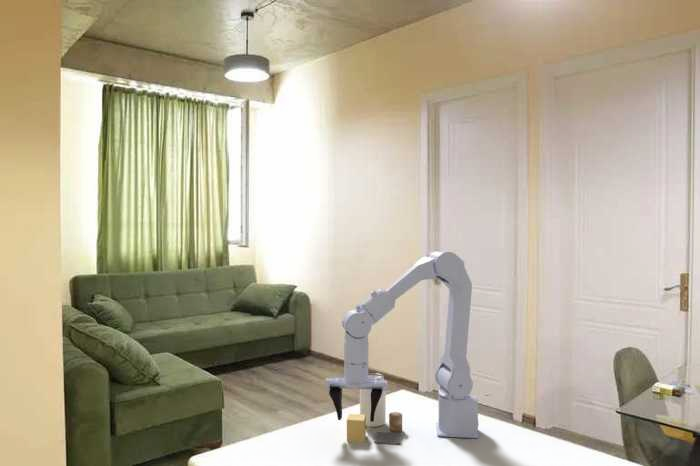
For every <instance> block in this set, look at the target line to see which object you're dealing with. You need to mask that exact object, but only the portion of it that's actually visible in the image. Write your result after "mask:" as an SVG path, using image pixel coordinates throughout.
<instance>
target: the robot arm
mask: <svg viewBox="0 0 700 466" xmlns="http://www.w3.org/2000/svg"><path fill="white" fill-rule="evenodd" d="M435 279H439V280H440V281H441V283H443V284H444V285H445V287H447V288H448V291H449V294H448V304H447V305H448V307H447V318H446V327H445V329H446V331H445V341H444V342H445V344H444V352H443V355H441V358H440V361H439V366H438V367H437V369H436V372H435V375H434V376H435V381H436V384H438V386H439V388H438V389H439V390H438V421H437V422H436V435H437V436H438V437H447V438H449V437H450V438H467V439H478V438H479V407H478V406H479V404H478V397H477V396H476V395H471V392H472V390H473V388H474V387H473V379H472V377H471V367H470V366H471V365H470V363H469V361H468V359H467V353H468V341H469V340H468V338H469V327H470V315H471V304H472V289H473V284H472V281H471V278H470V276H469V273H468V271H467V270H466V267H465V261H464V260H463V259H461V257H459V255H457V254H456V253H454V252H453V251H443V250H432V251H430V252H428V253H427V254H426V256H423V257H421V258H420V259H419V260H417V262H415V263H414V265H412V266H411V267H410V268H409V269H408V270H407V271H405V272H404V273H403V274H401V276H400V277H399V278H397V280H395V282H394V283H392V284H391V285H390V286H389V287H388V288H387V289H385V288H379V289H377V290H374V289H373V290H372V291H370V293H369V295H370V296H369V297H367V298H366V299H365V300H363V301H362V302H361V303H360V304H356V305H355V306H354V308H355V309H353V310H349V311H347V312H346V313H345V315H343V316H344V317H343V318H342V321H341V325H342V327H343V329H344V330H345V331H344V345H343V355H344V356H343V364H344V365H343V377H326V379H325V381H324V388H325V389H326V390H327V389H329V391H328V394H329V396H330V398H331V400H332V403H333V405H334V408H335V411H336V415H337V420H338V421H341V420H342V418H343V403H342V401H343V399H342V397H343V389H353V390H360V389H370V390H372V391H371V415H370V422H373V421H374V414H375V410H376V407H377V404H378V402H379V399H380V397H381V395H382V391H385V392H387V391H388V380H385V379H384V380H385V381H384V380H376V379H369V378H368V373H369V342H368V341H369V334H370V332H371V330H372V326H375V324H376V323H378V322H379V321H380V320H382V319H383V318H384V317H385V316H386V315H387V314H388V313H390V312H392V310H393V309H395V307H396V301H397V300H398V299H399V298H400V297H402V296H403V295H404V294H405V293H407V292H408V291H409V290H410V289H412V288H413V287H414V286H416V285H417V284H419V283H420V282H422V281H425V280H435Z"/></svg>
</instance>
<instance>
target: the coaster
mask: <svg viewBox="0 0 700 466" xmlns="http://www.w3.org/2000/svg"><path fill="white" fill-rule="evenodd" d="M401 442H402V432H401V433H395V432H390V431H376V433H375V438H374V444H385V445H401V444H402V443H401Z"/></svg>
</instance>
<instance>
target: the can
mask: <svg viewBox="0 0 700 466" xmlns="http://www.w3.org/2000/svg"><path fill="white" fill-rule="evenodd" d="M384 377H385V376H384V375H383V374H382V373H376V372H374V373H373V372H370V373H369V372H368V378H369V379H376V380H384V381H386V380H385V378H384ZM371 391H372V390H370V389H359V414H362V415H366V428H380V427H383V426H384V425H385V424H386V391H382V395H381V397H380V399H379V402H378V404H377V407H376V410H375V414H374V421H373V422H370V415H371Z"/></svg>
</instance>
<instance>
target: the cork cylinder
mask: <svg viewBox="0 0 700 466" xmlns="http://www.w3.org/2000/svg"><path fill="white" fill-rule="evenodd" d="M388 432H395V433H401V434H402V433H403V413H401V412H397V411H396V412H395V411H394V412H390V413H389V414H388Z"/></svg>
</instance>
